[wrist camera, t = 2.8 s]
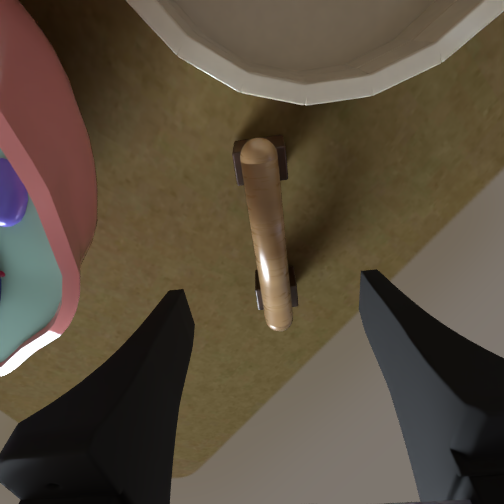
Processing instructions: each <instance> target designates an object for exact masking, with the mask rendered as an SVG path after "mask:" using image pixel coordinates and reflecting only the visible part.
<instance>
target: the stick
mask: <svg viewBox="0 0 504 504" xmlns="http://www.w3.org/2000/svg"><path fill="white" fill-rule="evenodd" d="M240 161H241V168H242V174H243V180H244V187H245V193H246V199H247V206H248V212H249V218H250V225H251V231H252V237H253V244H254V250H255V257H256V263H257V269H258V276H259V282H260V288H261V295H262V301H263V307H264V314H265V320H266V323H267V325H268V326H269V327H270V328H271V329H273V330H275V331H284V330H286V329H287V328H289V327H290V325H291V324H292V321H293V311H292V301H291V290H290V280H289V269H288V259H287V248H286V238H285V227H284V217H283V206H282V195H281V185H280V174H279V164H278V154H277V150H276V148H275V146H274V145H273V144H272V143H271V142H270V141H269V140H267V139H264V138H254V139H251V140H249V141H248V142H247V143H246V144H245V145H244V146H243V148H242V150H241V153H240Z"/></svg>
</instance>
